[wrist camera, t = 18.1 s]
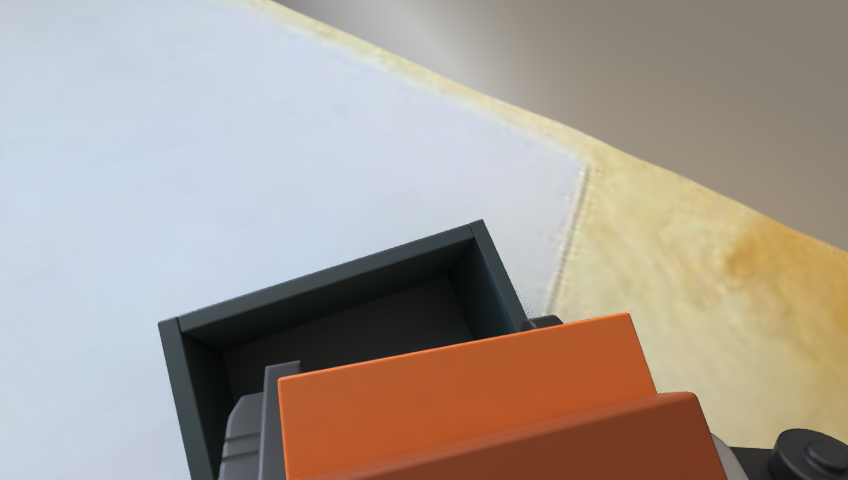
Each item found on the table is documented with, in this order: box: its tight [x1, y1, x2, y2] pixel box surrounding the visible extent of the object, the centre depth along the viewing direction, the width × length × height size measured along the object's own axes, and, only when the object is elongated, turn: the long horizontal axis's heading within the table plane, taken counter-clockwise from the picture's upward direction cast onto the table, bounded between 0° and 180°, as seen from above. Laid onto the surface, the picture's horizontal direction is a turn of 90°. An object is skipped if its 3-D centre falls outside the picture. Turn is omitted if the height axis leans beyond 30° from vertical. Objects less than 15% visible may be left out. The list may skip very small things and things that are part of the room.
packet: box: [277, 312, 728, 480], centre depth 11 cm, size 5×4×12 cm
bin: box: [158, 219, 527, 480], centre depth 23 cm, size 16×16×8 cm
